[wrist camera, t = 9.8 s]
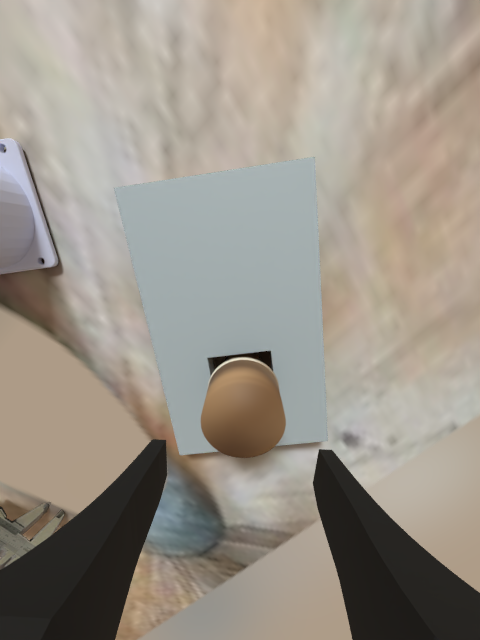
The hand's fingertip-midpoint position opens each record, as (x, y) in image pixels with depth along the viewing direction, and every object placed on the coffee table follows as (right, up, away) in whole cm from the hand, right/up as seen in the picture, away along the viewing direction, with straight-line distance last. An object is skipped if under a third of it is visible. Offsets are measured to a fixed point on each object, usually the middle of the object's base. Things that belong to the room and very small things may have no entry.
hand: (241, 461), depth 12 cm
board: (0, +6, +8) cm, 10 cm away
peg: (0, +3, +9) cm, 9 cm away
